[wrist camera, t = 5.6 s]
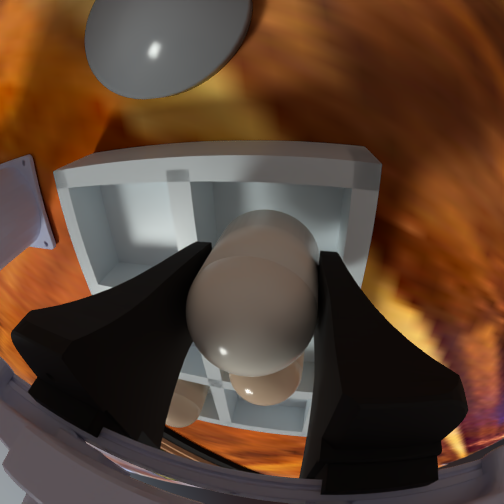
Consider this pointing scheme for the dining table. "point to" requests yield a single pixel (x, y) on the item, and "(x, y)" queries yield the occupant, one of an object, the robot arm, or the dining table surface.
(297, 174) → the egg carton
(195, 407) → the brown egg
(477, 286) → the dining table surface
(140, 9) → the grey round disc
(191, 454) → the sushi set
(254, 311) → the cream egg
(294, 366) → the brown egg
